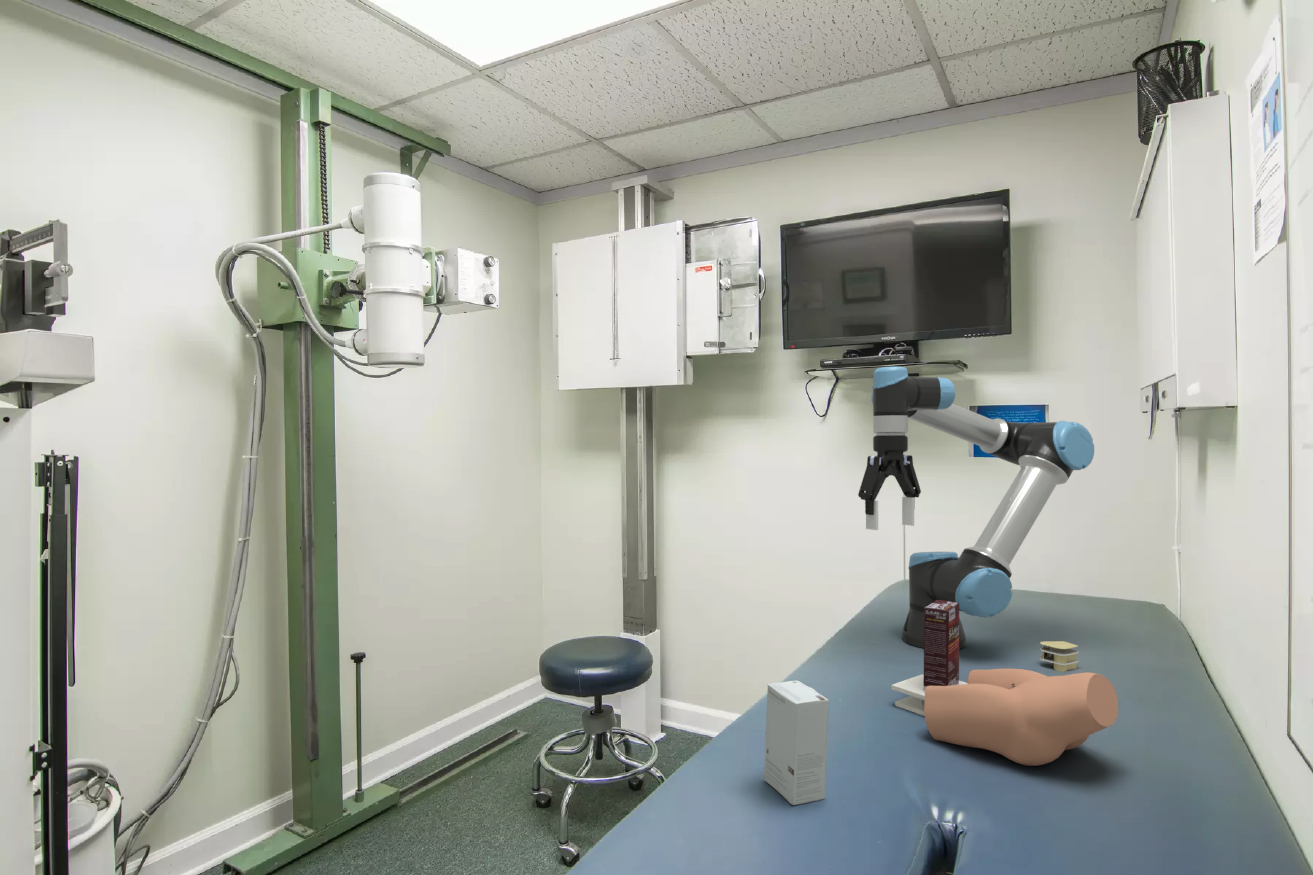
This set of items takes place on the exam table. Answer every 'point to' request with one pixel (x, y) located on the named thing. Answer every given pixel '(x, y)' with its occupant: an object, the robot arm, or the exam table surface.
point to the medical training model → (1021, 712)
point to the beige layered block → (1059, 655)
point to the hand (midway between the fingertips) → (890, 527)
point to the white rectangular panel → (913, 694)
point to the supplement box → (941, 644)
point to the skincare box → (796, 741)
